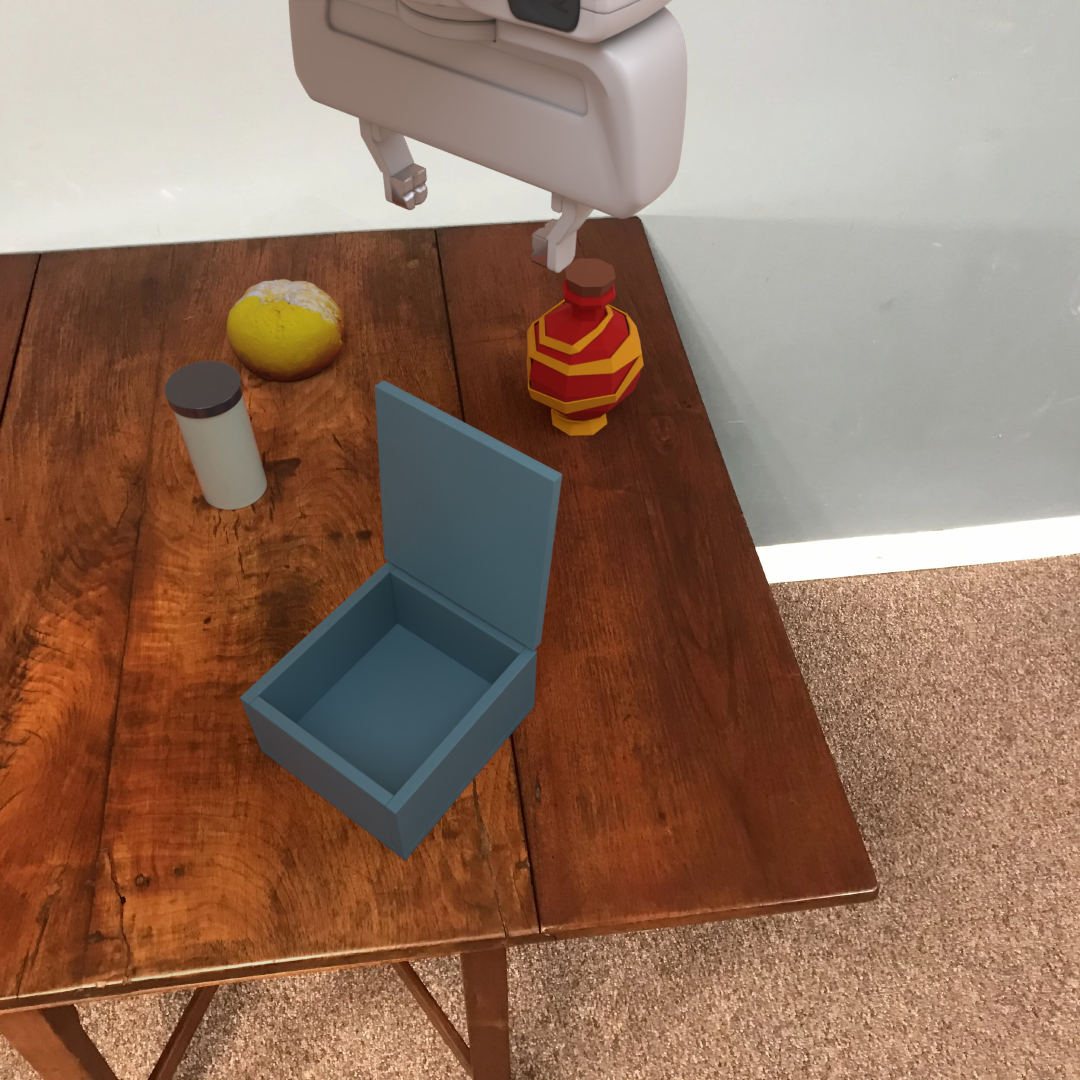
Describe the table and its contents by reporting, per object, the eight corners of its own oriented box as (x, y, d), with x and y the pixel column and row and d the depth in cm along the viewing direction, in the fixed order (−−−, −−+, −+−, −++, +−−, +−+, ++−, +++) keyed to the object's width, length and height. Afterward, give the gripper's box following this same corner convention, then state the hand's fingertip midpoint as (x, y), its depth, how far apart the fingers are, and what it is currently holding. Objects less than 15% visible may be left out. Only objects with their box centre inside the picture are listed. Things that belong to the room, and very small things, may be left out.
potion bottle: (619, 468, 80) (637, 324, 69) (505, 439, 82) (505, 294, 71) (649, 393, 87) (671, 250, 76) (544, 367, 89) (549, 224, 78)
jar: (197, 513, 76) (159, 411, 67) (204, 465, 79) (169, 362, 71) (266, 508, 76) (237, 406, 68) (270, 461, 80) (243, 358, 71)
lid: (554, 481, 49) (562, 473, 50) (374, 385, 54) (383, 379, 54) (533, 651, 59) (541, 643, 60) (384, 558, 64) (392, 552, 64)
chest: (405, 861, 58) (395, 813, 53) (261, 750, 62) (239, 697, 57) (534, 706, 65) (537, 651, 60) (397, 617, 70) (388, 559, 64)
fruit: (377, 340, 90) (350, 283, 83) (302, 416, 87) (268, 364, 80) (298, 292, 94) (266, 234, 87) (224, 364, 92) (185, 310, 84)
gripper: (229, -112, 40) (287, 192, 50) (643, 8, 32) (610, 334, 43) (332, -144, 43) (366, 147, 54) (728, -42, 36) (678, 271, 46)
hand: (477, 231), depth 48 cm, fingers open, 8 cm apart
